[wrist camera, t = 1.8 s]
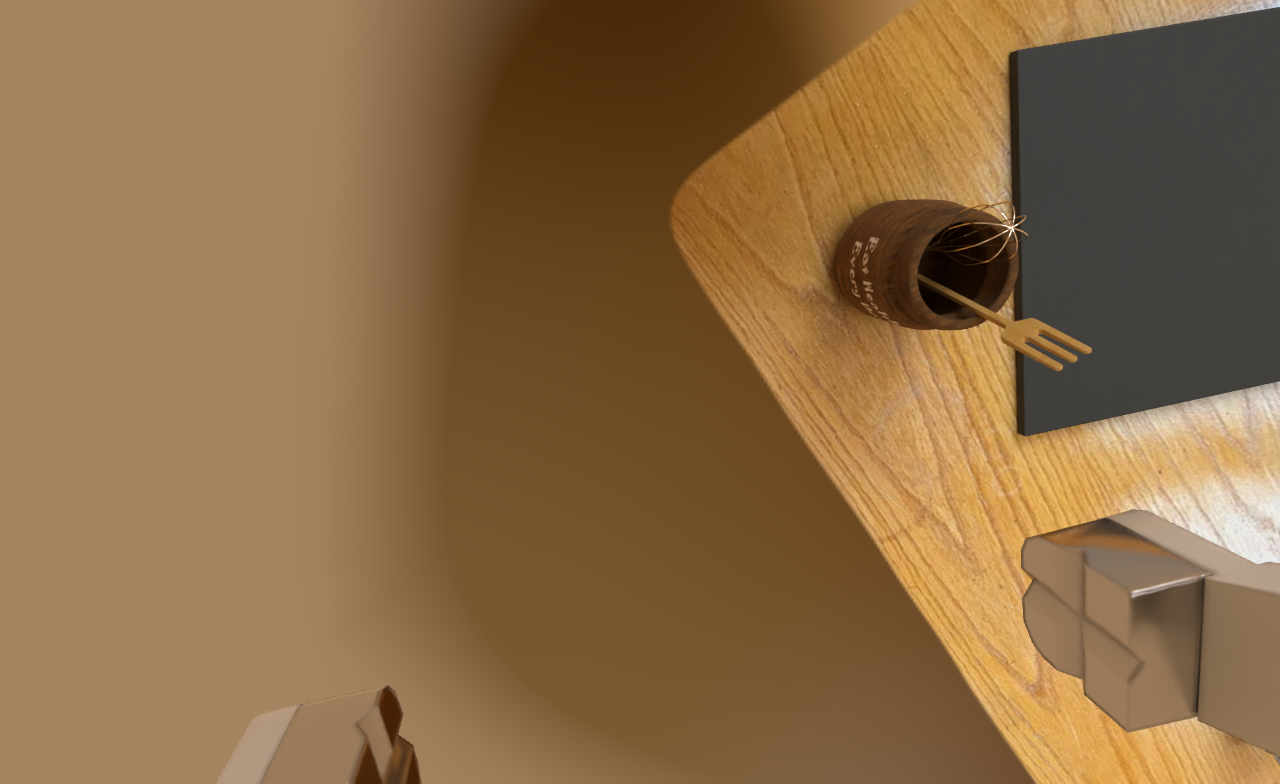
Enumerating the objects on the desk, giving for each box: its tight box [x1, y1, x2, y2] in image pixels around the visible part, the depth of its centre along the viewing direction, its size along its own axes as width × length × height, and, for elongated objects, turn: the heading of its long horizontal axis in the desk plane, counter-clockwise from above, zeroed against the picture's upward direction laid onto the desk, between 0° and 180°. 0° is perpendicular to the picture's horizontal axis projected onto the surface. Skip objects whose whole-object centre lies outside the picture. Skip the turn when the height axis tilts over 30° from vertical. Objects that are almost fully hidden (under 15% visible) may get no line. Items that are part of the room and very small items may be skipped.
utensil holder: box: [836, 200, 1092, 371], centre depth 31 cm, size 6×6×12 cm
